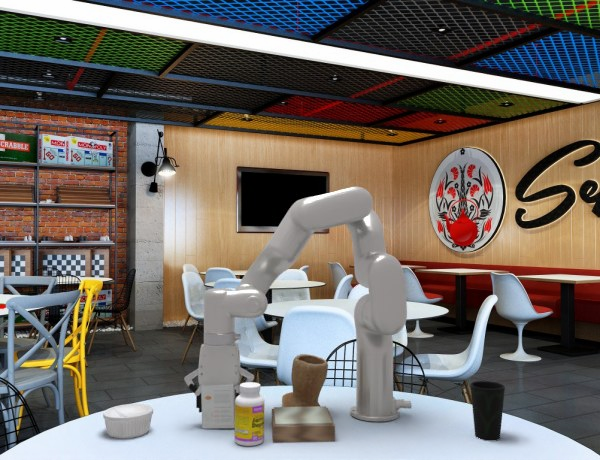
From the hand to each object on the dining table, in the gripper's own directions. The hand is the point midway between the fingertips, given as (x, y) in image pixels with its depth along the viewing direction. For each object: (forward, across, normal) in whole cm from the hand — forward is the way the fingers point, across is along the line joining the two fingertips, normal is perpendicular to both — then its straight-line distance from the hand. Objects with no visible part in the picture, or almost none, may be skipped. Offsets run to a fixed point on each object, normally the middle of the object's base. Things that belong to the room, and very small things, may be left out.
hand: (219, 410), depth 140 cm
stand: (+4, -20, +5) cm, 21 cm away
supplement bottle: (+4, -7, +11) cm, 14 cm away
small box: (+4, 0, 0) cm, 4 cm away
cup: (+5, -63, +11) cm, 64 cm away
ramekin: (+4, +21, +3) cm, 22 cm away
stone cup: (+4, -22, -11) cm, 25 cm away
